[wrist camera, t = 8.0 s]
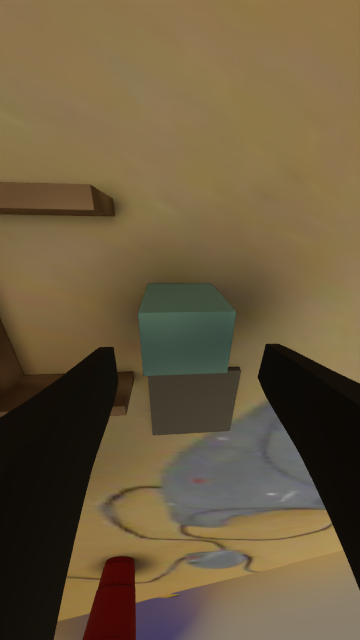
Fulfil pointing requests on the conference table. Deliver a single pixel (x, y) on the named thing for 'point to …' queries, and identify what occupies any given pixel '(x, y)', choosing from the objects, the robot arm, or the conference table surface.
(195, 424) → the mat
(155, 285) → the block
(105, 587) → the plastic cup
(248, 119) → the conference table surface
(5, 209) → the wooden fixture
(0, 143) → the conference table surface
